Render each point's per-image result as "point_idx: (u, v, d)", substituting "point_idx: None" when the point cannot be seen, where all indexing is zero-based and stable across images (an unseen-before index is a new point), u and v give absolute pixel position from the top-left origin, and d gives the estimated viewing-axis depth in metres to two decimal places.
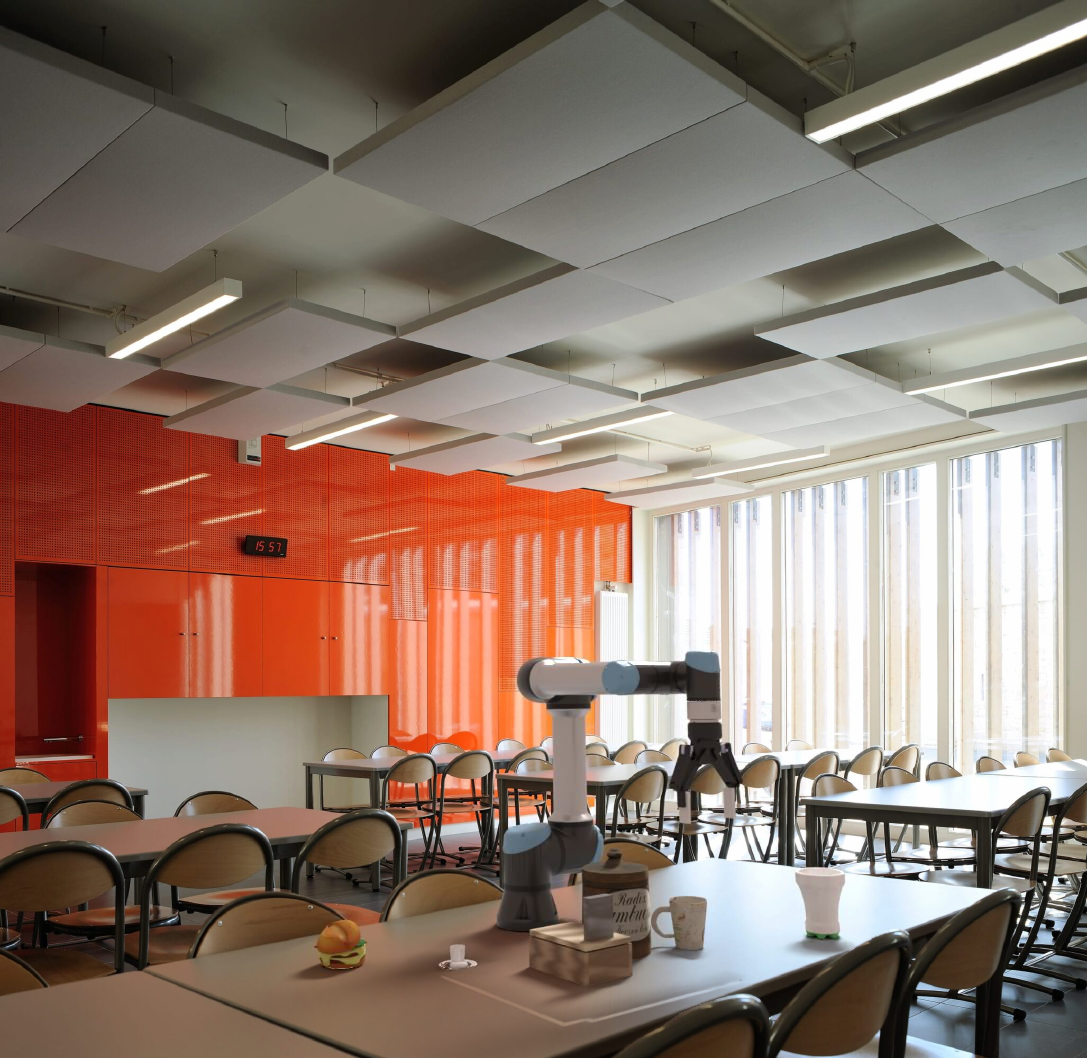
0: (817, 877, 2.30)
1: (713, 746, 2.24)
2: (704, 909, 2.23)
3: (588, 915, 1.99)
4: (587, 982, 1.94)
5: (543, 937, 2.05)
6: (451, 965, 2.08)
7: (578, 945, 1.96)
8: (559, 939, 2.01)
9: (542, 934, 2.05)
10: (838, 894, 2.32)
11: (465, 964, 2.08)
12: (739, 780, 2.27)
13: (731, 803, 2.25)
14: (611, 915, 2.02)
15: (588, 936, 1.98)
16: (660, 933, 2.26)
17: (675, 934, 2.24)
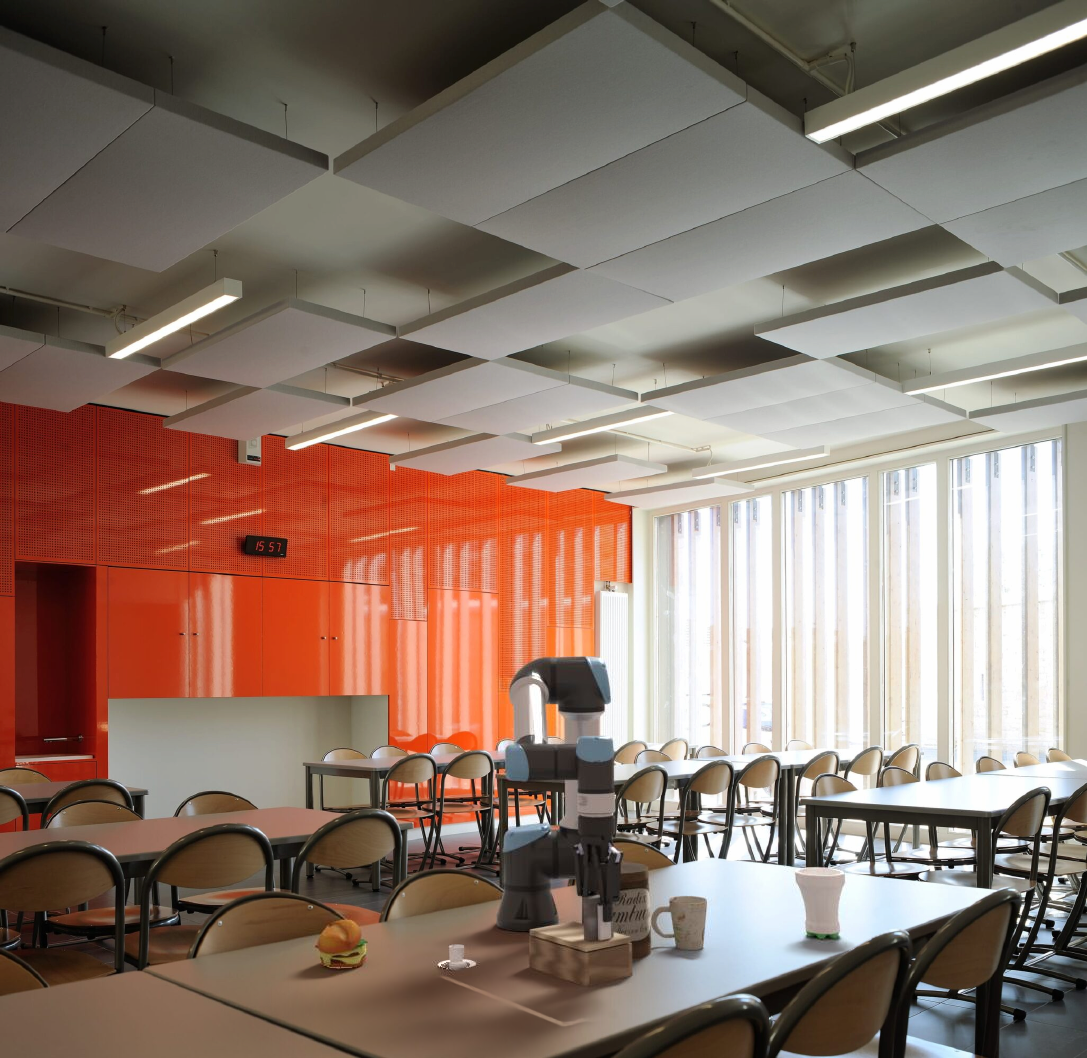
0: (817, 877, 2.30)
1: (598, 839, 2.01)
2: (704, 909, 2.23)
3: (588, 915, 1.99)
4: (587, 982, 1.94)
5: (543, 937, 2.05)
6: (450, 965, 2.08)
7: (578, 945, 1.96)
8: (559, 939, 2.01)
9: (542, 934, 2.05)
10: (838, 894, 2.32)
11: (464, 964, 2.08)
12: (607, 897, 1.98)
13: None
14: None
15: (588, 936, 1.98)
16: (660, 933, 2.26)
17: (675, 934, 2.24)
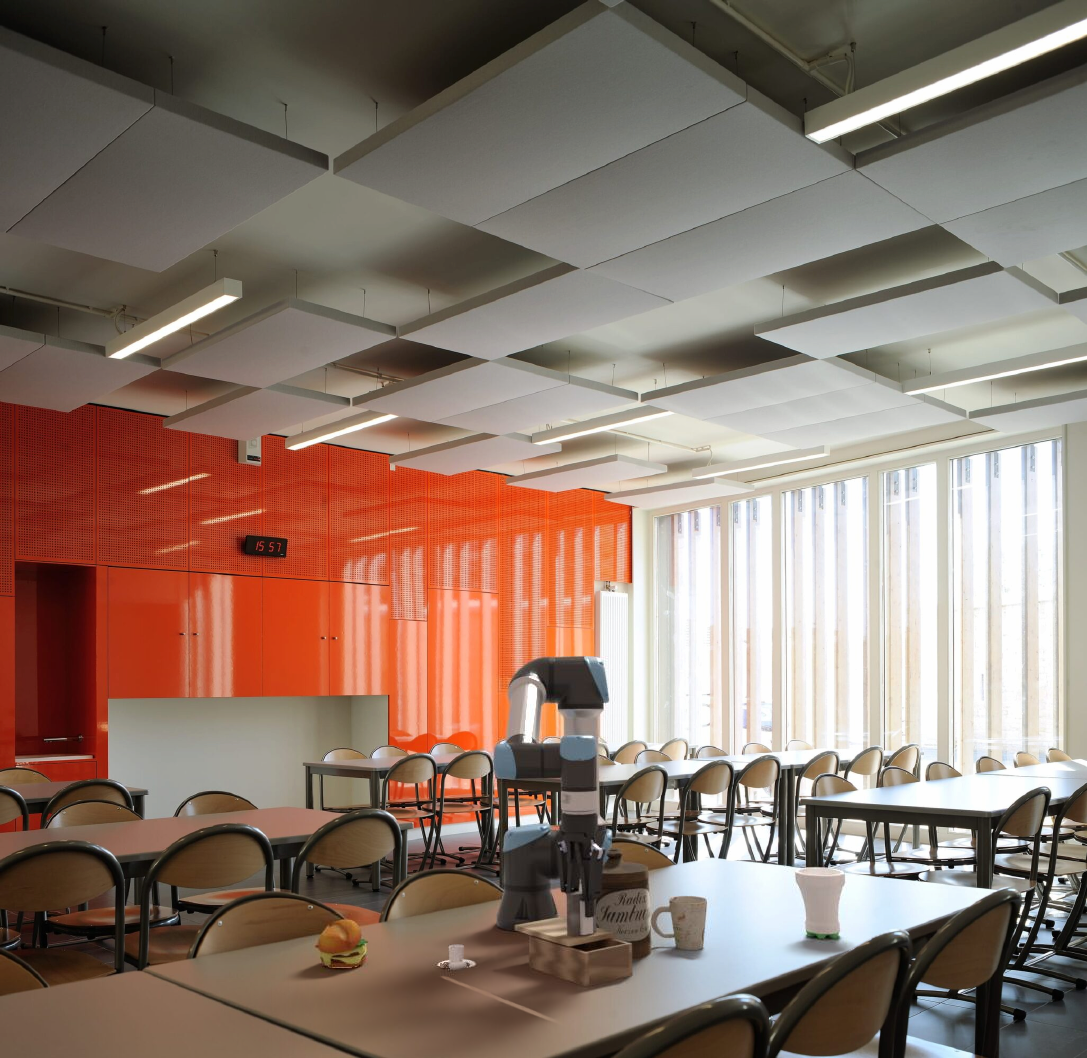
0: (817, 877, 2.30)
1: (581, 836, 2.06)
2: (704, 909, 2.23)
3: (571, 911, 2.03)
4: (587, 982, 1.94)
5: (528, 932, 2.09)
6: (450, 965, 2.08)
7: (561, 940, 2.00)
8: (543, 934, 2.05)
9: (527, 929, 2.09)
10: (838, 894, 2.32)
11: (464, 964, 2.08)
12: (589, 893, 2.02)
13: None
14: (594, 911, 2.06)
15: (571, 931, 2.03)
16: (660, 933, 2.26)
17: (675, 934, 2.24)
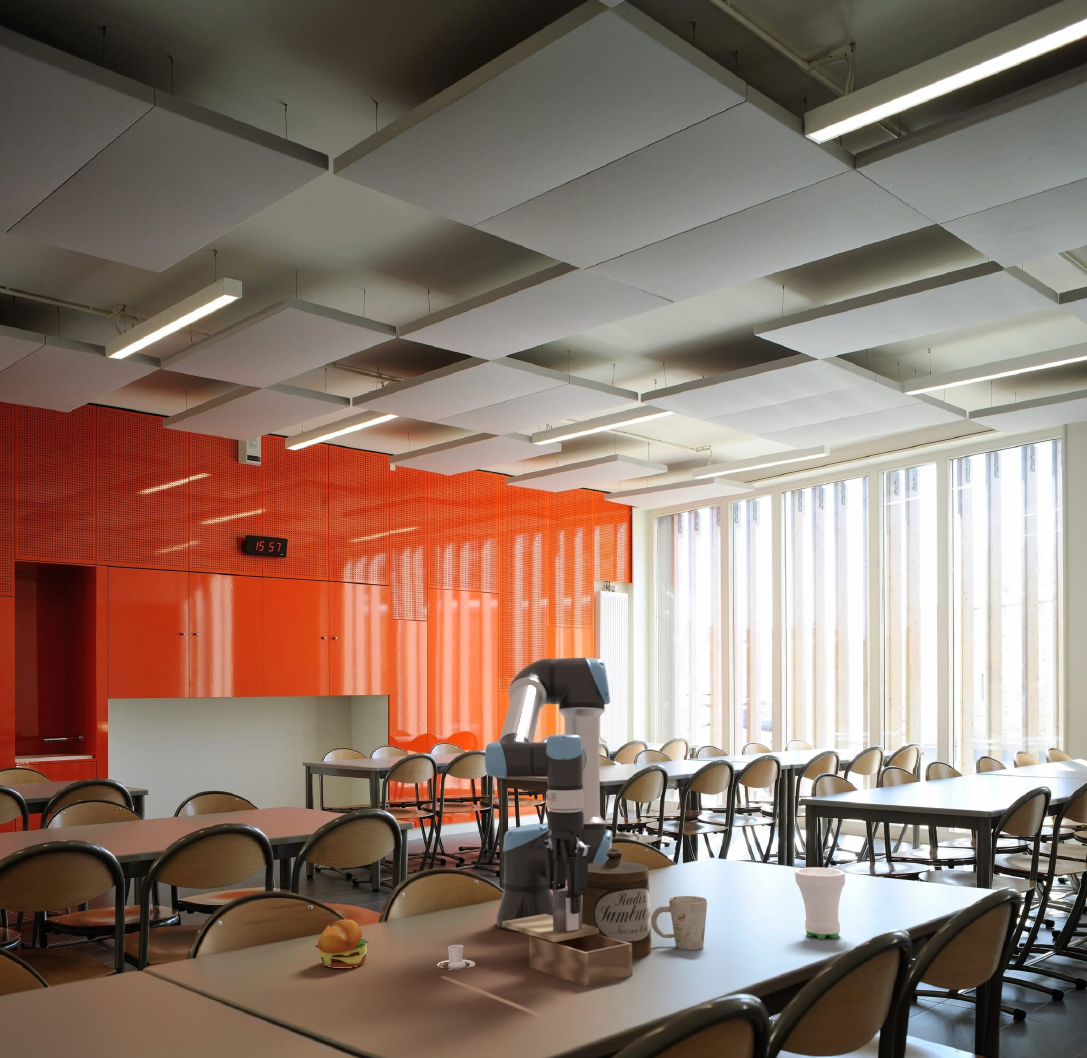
0: (817, 877, 2.30)
1: (567, 834, 2.09)
2: (704, 909, 2.23)
3: (557, 907, 2.07)
4: (587, 982, 1.94)
5: (515, 928, 2.13)
6: (449, 965, 2.08)
7: (547, 936, 2.04)
8: (529, 930, 2.09)
9: (514, 926, 2.13)
10: (838, 894, 2.32)
11: (463, 964, 2.08)
12: (574, 890, 2.06)
13: None
14: (580, 907, 2.09)
15: (557, 927, 2.06)
16: (660, 933, 2.26)
17: (675, 934, 2.24)
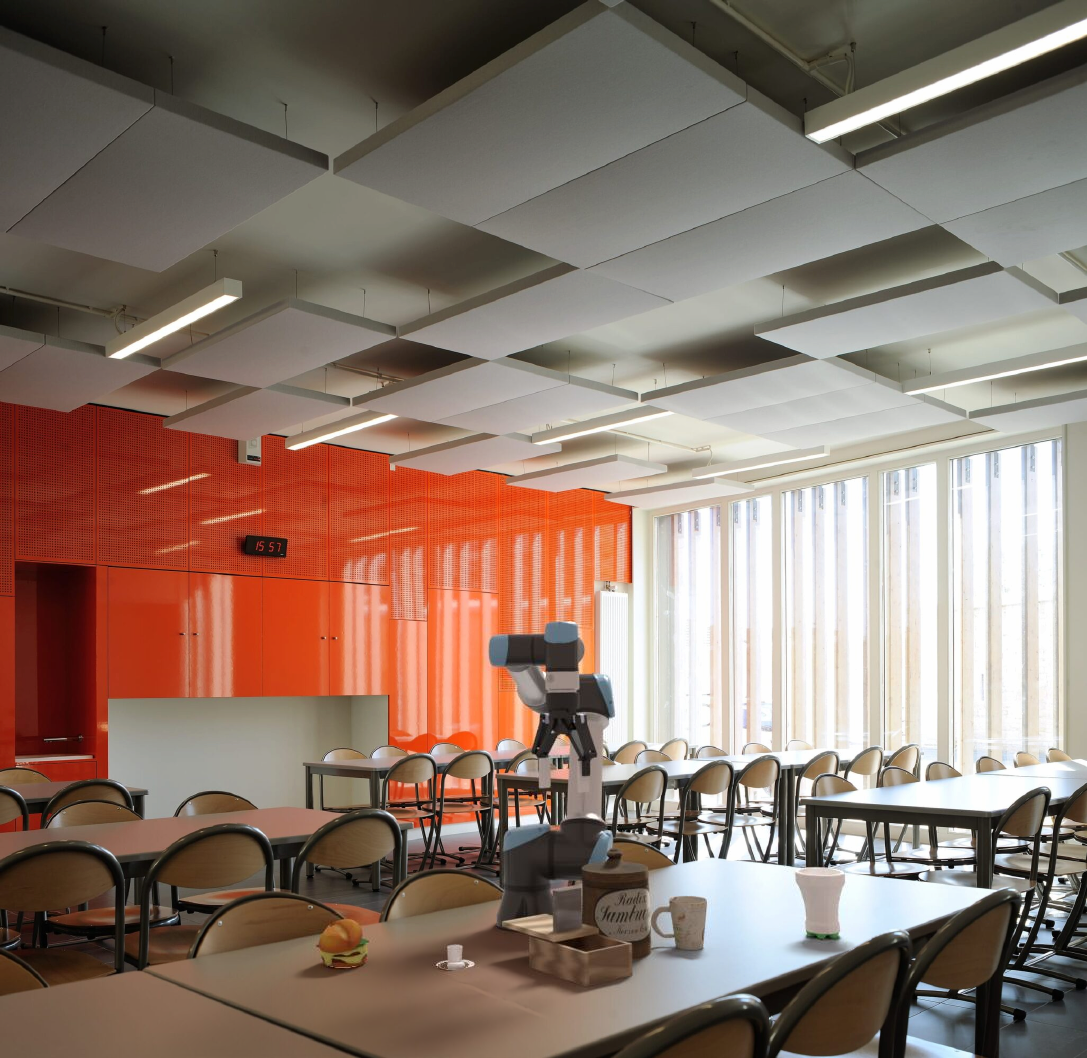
0: (817, 877, 2.30)
1: (562, 716, 2.23)
2: (704, 909, 2.23)
3: (557, 907, 2.07)
4: (587, 982, 1.94)
5: (514, 928, 2.13)
6: (448, 965, 2.08)
7: (547, 936, 2.04)
8: (529, 930, 2.09)
9: (514, 926, 2.13)
10: (838, 894, 2.32)
11: (462, 964, 2.08)
12: (585, 754, 2.16)
13: None
14: (580, 907, 2.09)
15: (557, 927, 2.06)
16: (660, 933, 2.26)
17: (675, 934, 2.24)
